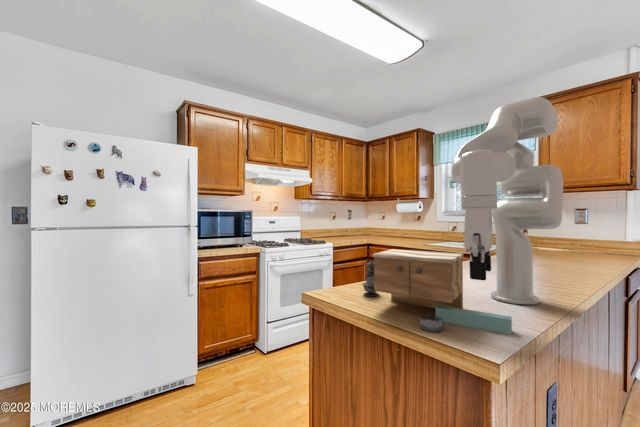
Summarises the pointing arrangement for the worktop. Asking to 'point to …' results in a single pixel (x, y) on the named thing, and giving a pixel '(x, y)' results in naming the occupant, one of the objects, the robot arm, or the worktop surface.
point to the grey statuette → (370, 281)
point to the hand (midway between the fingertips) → (481, 274)
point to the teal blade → (475, 319)
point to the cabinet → (420, 277)
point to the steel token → (431, 324)
